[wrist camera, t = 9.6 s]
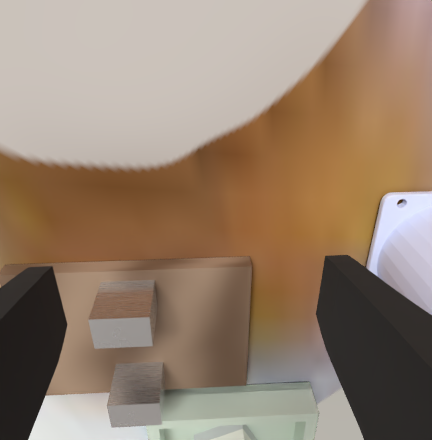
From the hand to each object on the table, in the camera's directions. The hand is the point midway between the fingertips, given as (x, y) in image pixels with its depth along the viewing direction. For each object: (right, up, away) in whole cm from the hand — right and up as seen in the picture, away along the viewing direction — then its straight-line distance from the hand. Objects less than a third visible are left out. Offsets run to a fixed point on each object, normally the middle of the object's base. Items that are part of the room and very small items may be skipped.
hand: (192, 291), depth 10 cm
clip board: (-4, -5, +14) cm, 16 cm away
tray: (+2, -15, +20) cm, 25 cm away
